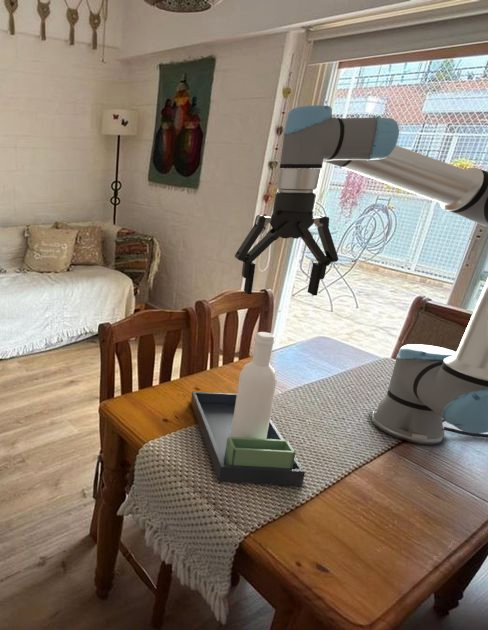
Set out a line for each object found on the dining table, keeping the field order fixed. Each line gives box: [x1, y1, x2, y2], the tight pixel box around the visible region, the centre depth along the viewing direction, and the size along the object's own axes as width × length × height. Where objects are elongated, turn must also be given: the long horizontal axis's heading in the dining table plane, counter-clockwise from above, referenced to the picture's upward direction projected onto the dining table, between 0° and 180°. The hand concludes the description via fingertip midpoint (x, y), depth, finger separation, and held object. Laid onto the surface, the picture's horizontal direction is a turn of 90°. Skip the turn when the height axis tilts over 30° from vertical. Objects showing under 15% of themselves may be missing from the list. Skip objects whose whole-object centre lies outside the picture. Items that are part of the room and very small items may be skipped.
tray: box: [190, 391, 306, 487], centre depth 111 cm, size 34×18×4 cm, turn 175°
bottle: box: [230, 331, 278, 439], centre depth 101 cm, size 8×8×30 cm
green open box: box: [224, 437, 296, 469], centre depth 97 cm, size 5×13×7 cm, turn 85°
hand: (279, 293), depth 95 cm, fingers open, 13 cm apart
